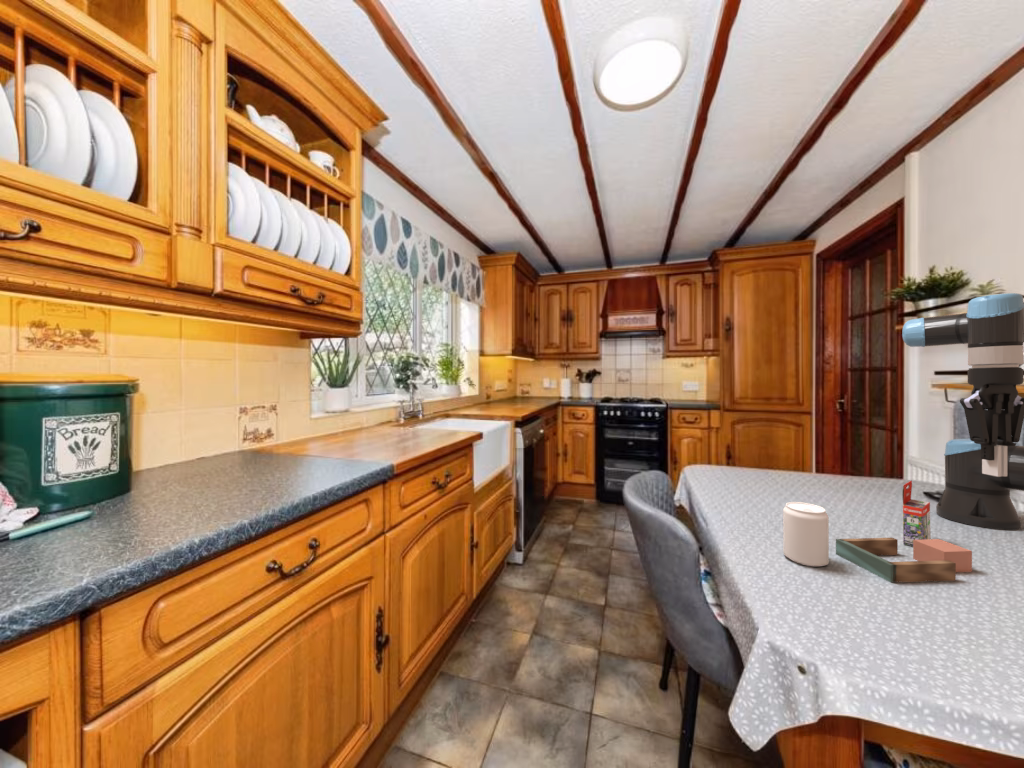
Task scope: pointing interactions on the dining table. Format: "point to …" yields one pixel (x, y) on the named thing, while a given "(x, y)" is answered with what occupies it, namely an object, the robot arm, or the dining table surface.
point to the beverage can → (806, 534)
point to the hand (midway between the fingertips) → (994, 474)
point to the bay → (910, 571)
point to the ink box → (914, 517)
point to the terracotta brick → (942, 553)
